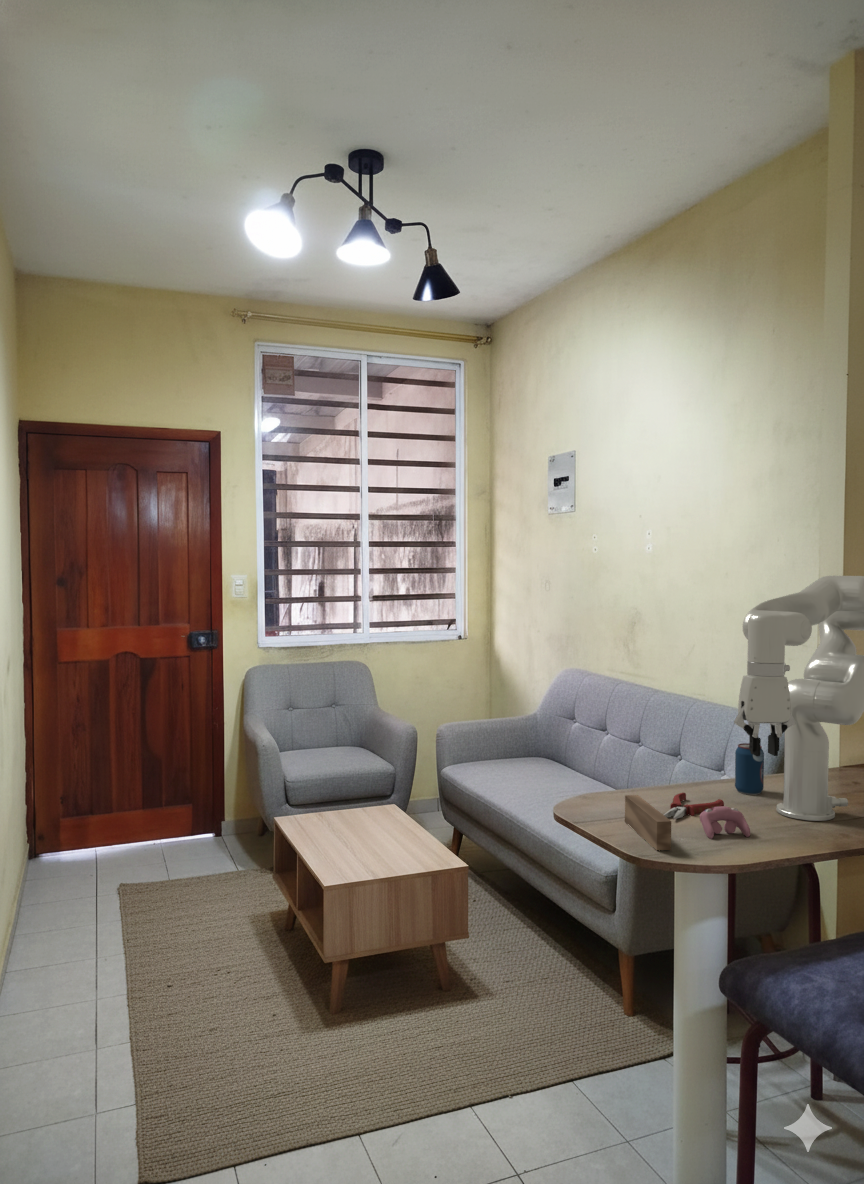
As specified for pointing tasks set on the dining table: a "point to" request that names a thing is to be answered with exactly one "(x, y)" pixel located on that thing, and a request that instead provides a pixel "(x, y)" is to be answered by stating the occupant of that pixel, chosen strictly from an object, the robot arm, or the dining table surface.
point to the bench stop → (648, 822)
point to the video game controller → (723, 814)
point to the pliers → (689, 807)
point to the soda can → (749, 770)
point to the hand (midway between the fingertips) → (764, 753)
